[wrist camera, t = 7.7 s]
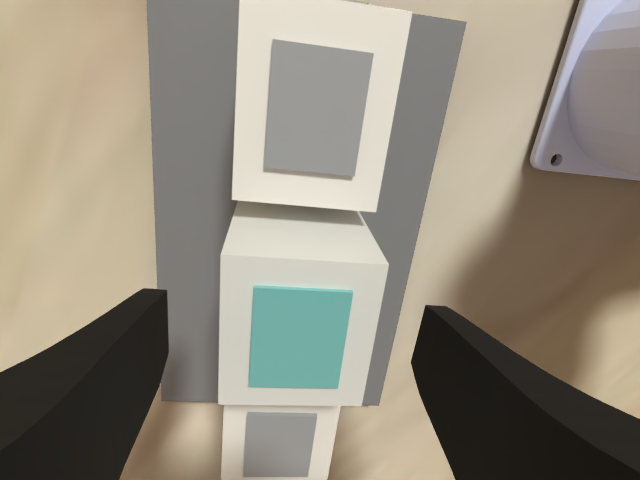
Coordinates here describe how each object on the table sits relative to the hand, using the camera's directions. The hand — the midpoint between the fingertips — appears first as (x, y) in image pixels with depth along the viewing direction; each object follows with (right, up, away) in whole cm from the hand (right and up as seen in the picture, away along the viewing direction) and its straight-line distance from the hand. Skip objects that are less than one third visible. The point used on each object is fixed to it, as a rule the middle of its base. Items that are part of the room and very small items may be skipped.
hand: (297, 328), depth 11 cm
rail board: (-1, +3, +7) cm, 7 cm away
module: (-1, +2, +5) cm, 6 cm away
